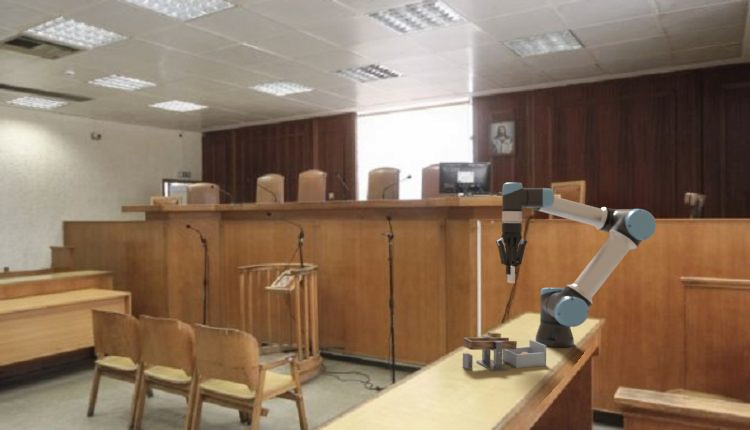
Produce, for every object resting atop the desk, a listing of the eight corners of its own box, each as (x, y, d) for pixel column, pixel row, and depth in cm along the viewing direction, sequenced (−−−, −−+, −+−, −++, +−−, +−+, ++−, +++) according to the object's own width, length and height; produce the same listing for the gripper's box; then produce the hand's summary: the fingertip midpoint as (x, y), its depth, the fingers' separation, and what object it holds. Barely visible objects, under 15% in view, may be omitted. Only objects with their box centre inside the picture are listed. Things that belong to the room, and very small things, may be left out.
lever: (495, 340, 200) (496, 331, 200) (516, 349, 187) (516, 339, 187) (452, 340, 195) (452, 331, 195) (470, 349, 182) (471, 340, 182)
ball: (527, 358, 194) (525, 349, 194) (532, 361, 191) (531, 352, 191) (519, 361, 193) (517, 352, 193) (524, 363, 190) (523, 354, 190)
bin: (530, 358, 198) (531, 339, 198) (546, 365, 189) (546, 345, 189) (502, 361, 194) (502, 341, 194) (516, 368, 186) (516, 347, 185)
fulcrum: (491, 361, 194) (491, 334, 194) (507, 369, 183) (508, 342, 183) (458, 363, 190) (458, 337, 190) (473, 372, 179) (473, 344, 179)
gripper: (520, 222, 215) (520, 281, 215) (491, 222, 210) (491, 282, 211) (532, 222, 207) (531, 283, 208) (502, 222, 203) (501, 284, 203)
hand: (511, 282), depth 209 cm, fingers closed
